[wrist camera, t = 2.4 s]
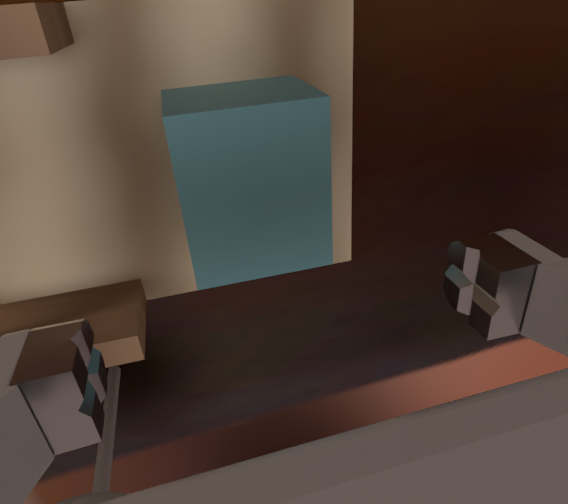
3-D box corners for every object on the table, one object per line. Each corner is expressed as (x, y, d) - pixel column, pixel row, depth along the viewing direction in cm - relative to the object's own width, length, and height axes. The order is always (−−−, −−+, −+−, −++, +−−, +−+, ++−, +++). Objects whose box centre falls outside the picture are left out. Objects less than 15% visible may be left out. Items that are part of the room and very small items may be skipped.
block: (292, 74, 17) (330, 95, 13) (300, 214, 20) (332, 264, 16) (161, 89, 16) (161, 117, 13) (189, 233, 19) (197, 290, 16)
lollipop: (105, 434, 26) (58, 831, 14) (9, 367, 23) (-177, 830, 10) (205, 373, 26) (250, 725, 13) (124, 294, 22) (81, 682, 10)
